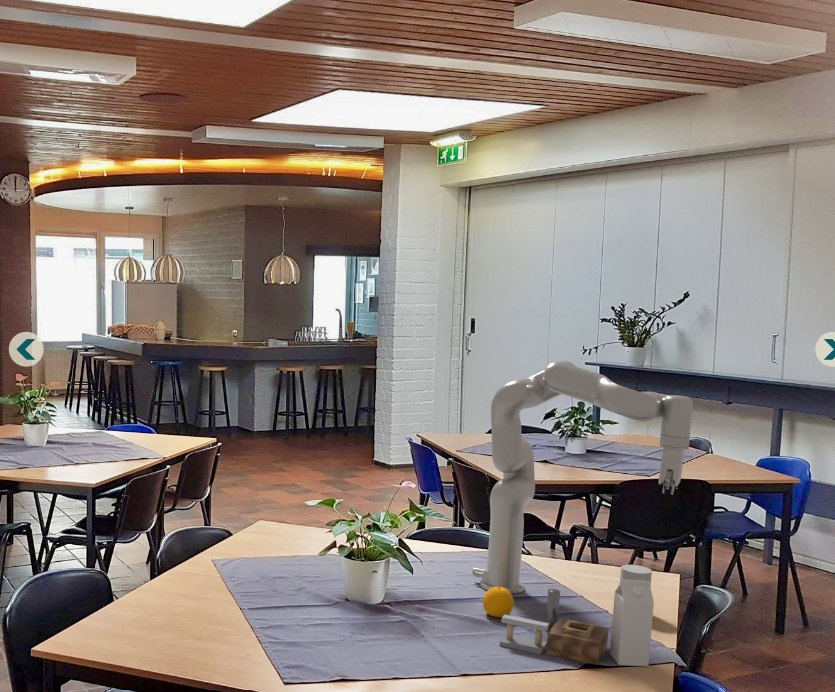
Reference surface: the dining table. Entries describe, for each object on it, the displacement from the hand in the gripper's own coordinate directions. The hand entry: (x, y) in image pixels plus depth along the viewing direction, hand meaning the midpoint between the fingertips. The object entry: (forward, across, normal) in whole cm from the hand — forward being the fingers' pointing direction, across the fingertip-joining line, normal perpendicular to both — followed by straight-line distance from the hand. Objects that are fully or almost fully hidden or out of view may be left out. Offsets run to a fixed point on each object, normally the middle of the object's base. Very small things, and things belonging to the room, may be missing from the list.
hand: (668, 505), depth 251 cm
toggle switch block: (+31, +37, -14) cm, 50 cm away
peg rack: (+31, +41, -26) cm, 57 cm away
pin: (+31, +26, -23) cm, 46 cm away
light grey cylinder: (+31, -1, -7) cm, 32 cm away
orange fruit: (+31, +23, -38) cm, 54 cm away
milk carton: (+31, +36, -2) cm, 47 cm away
